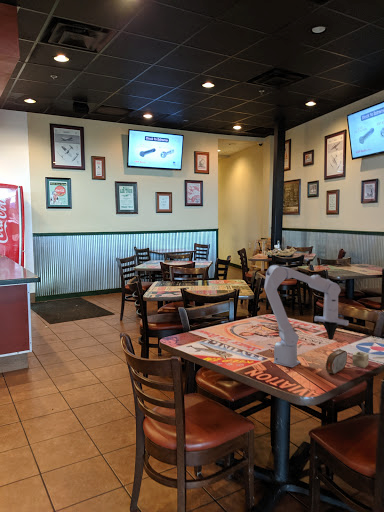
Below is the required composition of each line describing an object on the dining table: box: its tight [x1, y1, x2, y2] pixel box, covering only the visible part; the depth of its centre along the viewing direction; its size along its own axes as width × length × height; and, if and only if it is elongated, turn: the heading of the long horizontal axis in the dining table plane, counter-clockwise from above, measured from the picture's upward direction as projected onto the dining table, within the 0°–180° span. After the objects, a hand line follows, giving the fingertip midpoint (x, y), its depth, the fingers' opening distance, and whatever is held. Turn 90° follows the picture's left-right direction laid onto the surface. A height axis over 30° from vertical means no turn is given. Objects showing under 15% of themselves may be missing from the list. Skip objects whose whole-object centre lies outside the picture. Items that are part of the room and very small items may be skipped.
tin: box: [325, 348, 348, 375], centre depth 162 cm, size 15×3×8 cm, turn 135°
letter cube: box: [352, 351, 370, 369], centre depth 168 cm, size 5×5×5 cm
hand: (330, 339), depth 172 cm, fingers closed
